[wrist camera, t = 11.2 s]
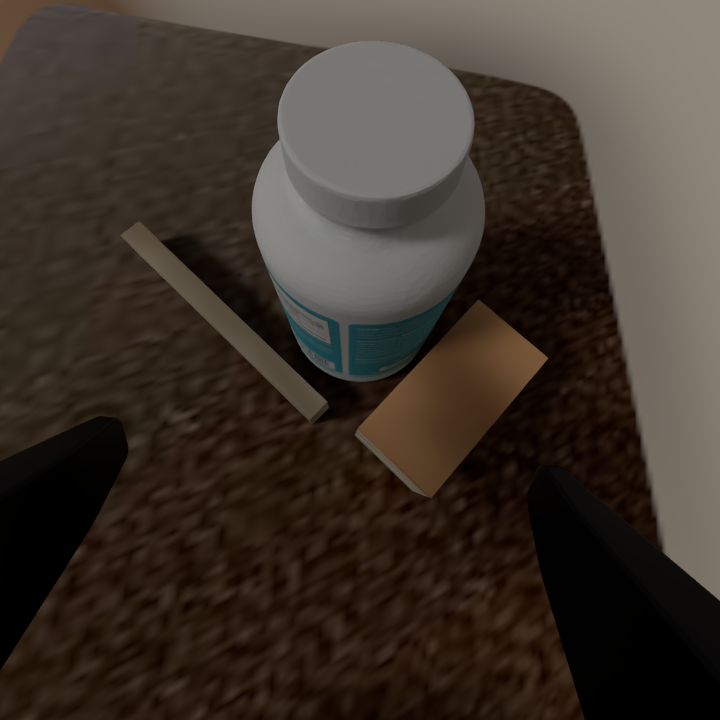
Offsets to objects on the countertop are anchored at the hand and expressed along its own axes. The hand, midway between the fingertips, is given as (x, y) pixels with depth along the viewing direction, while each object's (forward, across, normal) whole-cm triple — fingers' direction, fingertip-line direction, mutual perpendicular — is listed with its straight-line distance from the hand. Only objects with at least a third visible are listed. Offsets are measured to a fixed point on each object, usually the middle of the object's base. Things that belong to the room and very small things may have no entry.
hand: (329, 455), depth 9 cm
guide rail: (+13, +7, +4) cm, 15 cm away
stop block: (+11, -5, +6) cm, 13 cm away
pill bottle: (+14, 0, +3) cm, 15 cm away
